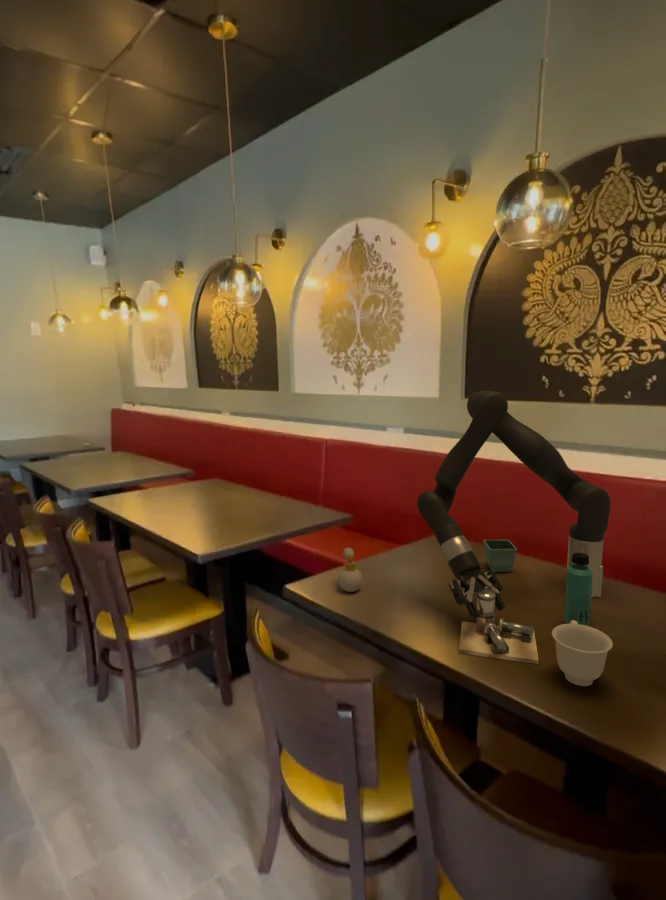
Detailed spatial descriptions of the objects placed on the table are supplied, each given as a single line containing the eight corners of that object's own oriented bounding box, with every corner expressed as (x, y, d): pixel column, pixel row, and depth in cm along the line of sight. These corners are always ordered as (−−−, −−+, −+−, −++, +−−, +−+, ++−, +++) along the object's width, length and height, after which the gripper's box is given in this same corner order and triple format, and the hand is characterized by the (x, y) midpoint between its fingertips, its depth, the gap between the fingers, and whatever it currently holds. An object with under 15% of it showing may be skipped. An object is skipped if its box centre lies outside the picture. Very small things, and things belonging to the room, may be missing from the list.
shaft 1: (483, 637, 131) (483, 623, 131) (497, 636, 131) (497, 622, 131) (494, 655, 123) (495, 640, 123) (509, 654, 124) (510, 639, 123)
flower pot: (516, 574, 171) (517, 548, 169) (489, 575, 171) (490, 549, 170) (507, 564, 180) (508, 539, 178) (482, 564, 180) (482, 539, 178)
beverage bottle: (578, 635, 133) (583, 561, 130) (556, 623, 139) (561, 552, 136) (595, 628, 136) (601, 556, 133) (573, 618, 142) (578, 548, 139)
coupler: (494, 626, 136) (495, 590, 135) (494, 635, 132) (495, 598, 130) (475, 623, 138) (476, 588, 136) (475, 632, 133) (476, 596, 132)
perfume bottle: (346, 597, 157) (345, 559, 155) (330, 585, 165) (330, 549, 163) (367, 591, 160) (367, 554, 158) (351, 580, 169) (350, 545, 167)
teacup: (597, 659, 123) (600, 619, 121) (616, 699, 109) (620, 655, 107) (543, 653, 126) (545, 614, 124) (554, 691, 111) (557, 648, 110)
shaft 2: (498, 636, 132) (498, 621, 131) (500, 629, 135) (501, 615, 134) (531, 643, 128) (532, 628, 127) (533, 636, 131) (534, 622, 131)
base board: (533, 633, 135) (533, 629, 134) (538, 664, 121) (538, 659, 121) (461, 624, 140) (462, 620, 139) (458, 653, 126) (459, 648, 126)
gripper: (446, 555, 135) (476, 615, 127) (487, 545, 141) (518, 601, 133) (432, 567, 140) (461, 625, 132) (472, 557, 147) (501, 612, 139)
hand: (489, 613), depth 133 cm, fingers open, 8 cm apart
